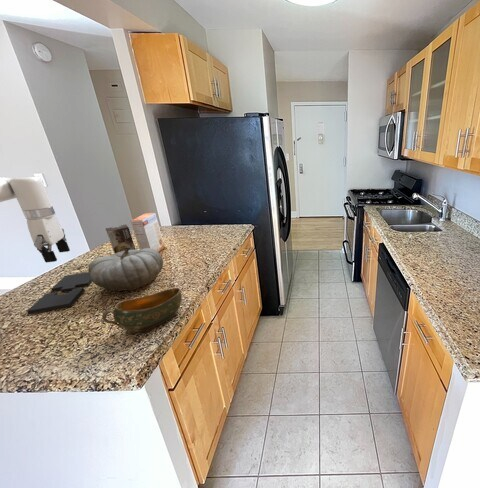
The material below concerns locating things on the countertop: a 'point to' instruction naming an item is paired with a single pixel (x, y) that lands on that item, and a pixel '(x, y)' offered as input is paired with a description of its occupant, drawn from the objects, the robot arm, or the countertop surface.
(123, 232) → the coffee box
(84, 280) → the pad
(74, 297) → the base pad
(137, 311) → the green gravy boat
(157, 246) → the cracker box
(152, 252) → the gourd
